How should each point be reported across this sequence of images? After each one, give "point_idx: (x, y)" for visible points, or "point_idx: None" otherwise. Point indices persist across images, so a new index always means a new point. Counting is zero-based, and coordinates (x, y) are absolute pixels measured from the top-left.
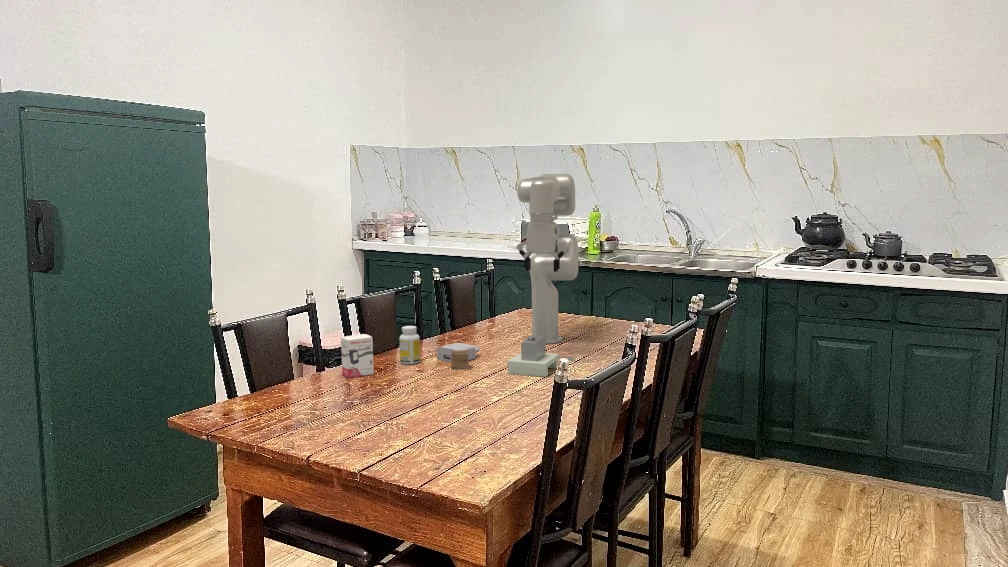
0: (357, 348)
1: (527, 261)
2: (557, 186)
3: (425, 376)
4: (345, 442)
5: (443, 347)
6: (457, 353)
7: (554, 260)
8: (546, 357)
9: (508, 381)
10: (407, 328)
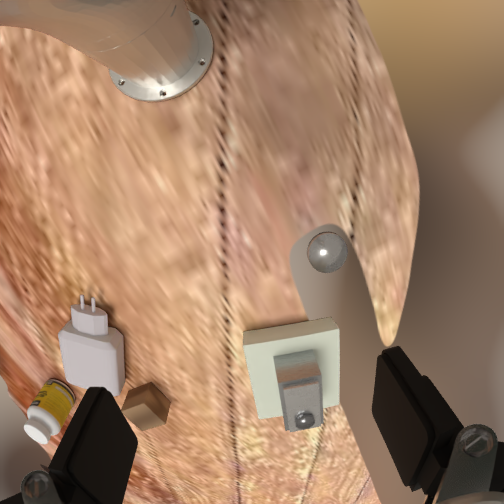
0: None
1: (119, 500)
2: None
3: (148, 445)
4: None
5: (79, 386)
6: (147, 425)
7: (414, 484)
8: (323, 367)
9: (283, 428)
10: (44, 443)
